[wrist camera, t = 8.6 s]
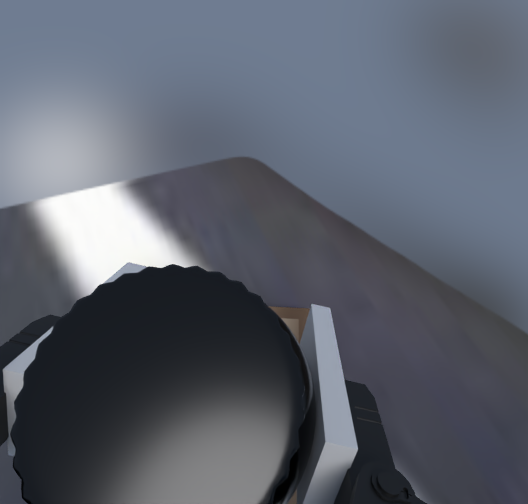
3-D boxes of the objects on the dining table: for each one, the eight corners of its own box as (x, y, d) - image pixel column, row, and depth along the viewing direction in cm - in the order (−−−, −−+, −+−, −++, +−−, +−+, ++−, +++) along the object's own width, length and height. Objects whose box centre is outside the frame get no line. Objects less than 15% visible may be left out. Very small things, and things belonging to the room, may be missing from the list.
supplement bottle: (301, 452, 16) (449, 535, 5) (154, 526, 15) (-60, 857, 4) (246, 314, 19) (272, 179, 8) (114, 365, 17) (-88, 286, 6)
